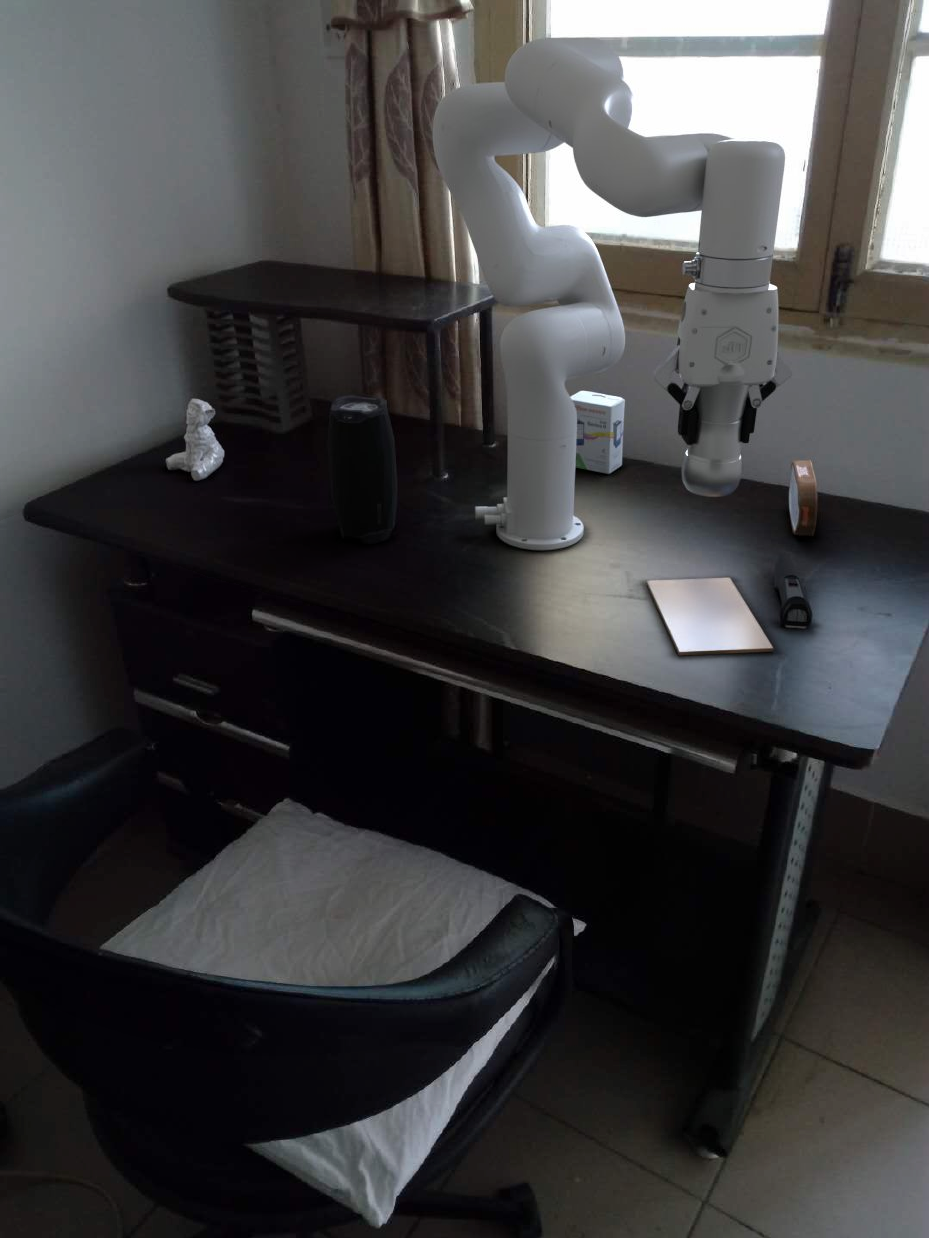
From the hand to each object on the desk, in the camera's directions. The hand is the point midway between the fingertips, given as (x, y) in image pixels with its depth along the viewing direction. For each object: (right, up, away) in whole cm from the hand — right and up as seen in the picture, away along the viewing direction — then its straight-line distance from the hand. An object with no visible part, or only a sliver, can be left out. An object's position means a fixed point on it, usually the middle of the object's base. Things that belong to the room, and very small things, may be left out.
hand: (714, 438), depth 113 cm
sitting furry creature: (-73, +5, +58) cm, 93 cm away
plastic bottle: (0, -6, +3) cm, 7 cm away
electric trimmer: (+13, -18, +15) cm, 27 cm away
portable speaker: (-42, -8, +34) cm, 55 cm away
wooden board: (+2, -20, +11) cm, 23 cm away
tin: (+21, -6, +35) cm, 41 cm away
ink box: (-6, +5, +57) cm, 57 cm away
